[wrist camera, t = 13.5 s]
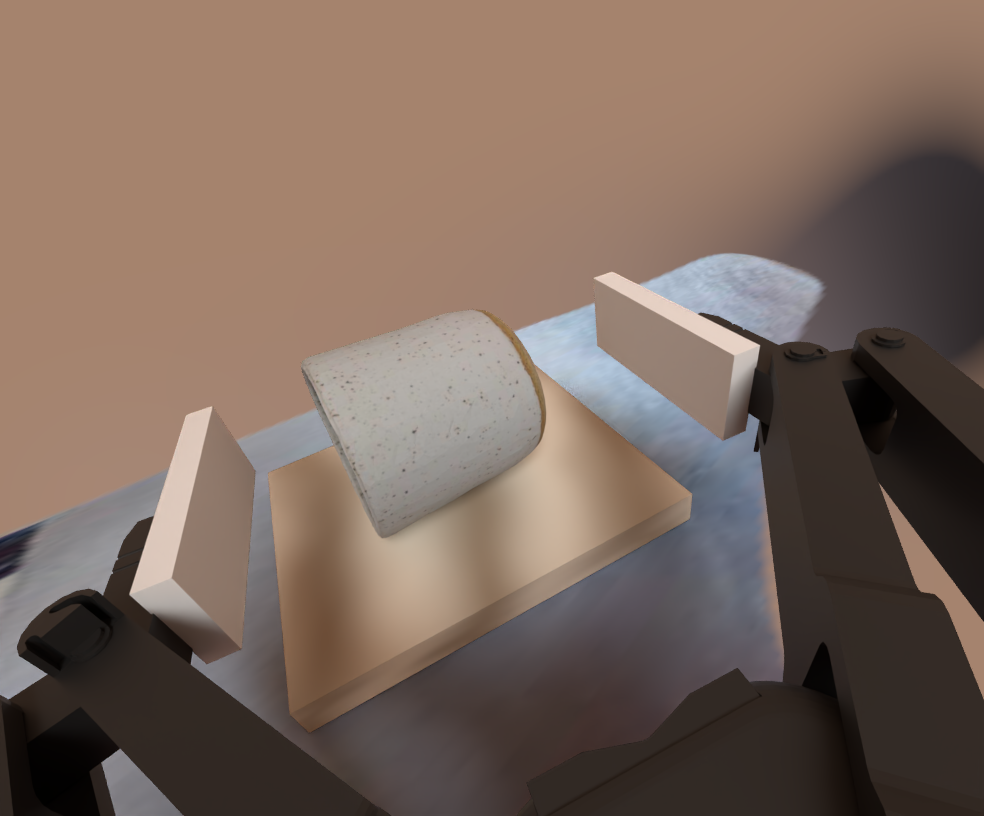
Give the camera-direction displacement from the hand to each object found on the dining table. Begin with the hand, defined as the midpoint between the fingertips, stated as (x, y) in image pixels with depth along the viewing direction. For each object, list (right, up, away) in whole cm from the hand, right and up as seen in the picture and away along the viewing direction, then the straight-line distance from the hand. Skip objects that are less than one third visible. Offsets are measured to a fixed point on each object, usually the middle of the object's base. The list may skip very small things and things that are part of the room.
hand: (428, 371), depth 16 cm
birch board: (+1, -6, +7) cm, 9 cm away
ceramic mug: (-1, -4, +7) cm, 8 cm away
